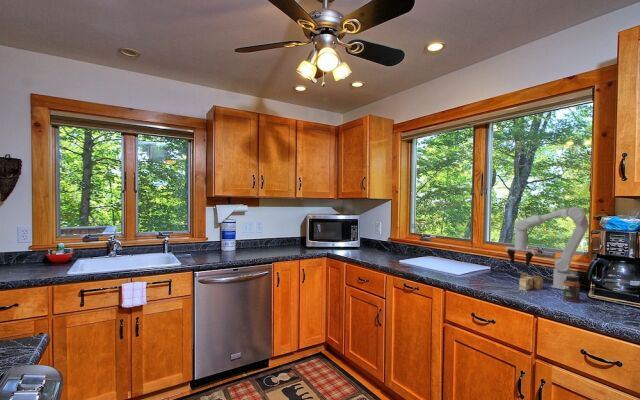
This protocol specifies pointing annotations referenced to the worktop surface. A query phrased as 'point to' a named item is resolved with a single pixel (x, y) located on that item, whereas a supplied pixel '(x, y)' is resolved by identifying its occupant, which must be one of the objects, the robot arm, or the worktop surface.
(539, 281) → the bracket
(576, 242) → the robot arm
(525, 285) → the beige block
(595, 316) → the worktop surface
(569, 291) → the supplement bottle
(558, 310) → the worktop surface
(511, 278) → the worktop surface
